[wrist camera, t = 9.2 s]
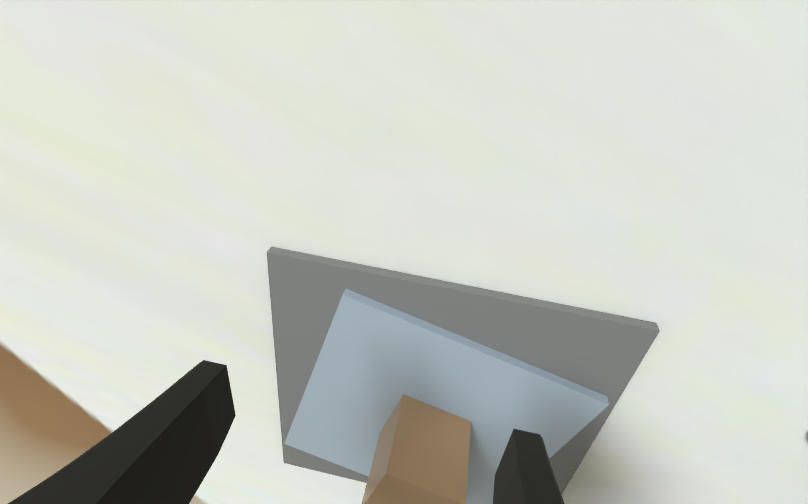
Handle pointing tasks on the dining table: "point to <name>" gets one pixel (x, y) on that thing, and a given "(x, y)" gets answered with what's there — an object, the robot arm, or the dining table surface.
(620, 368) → the mat
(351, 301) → the cover
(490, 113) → the dining table surface
